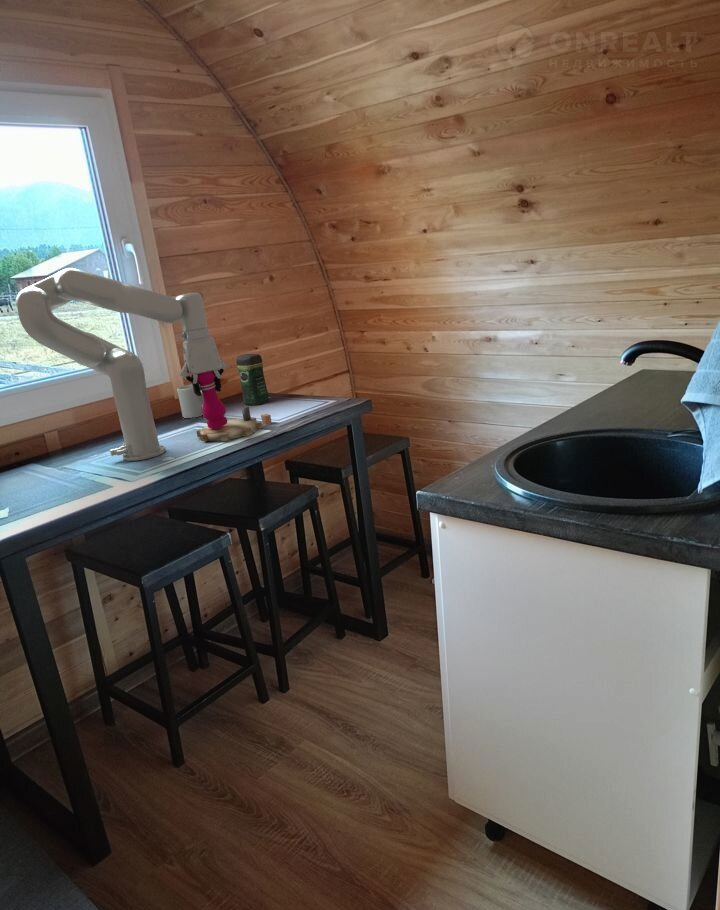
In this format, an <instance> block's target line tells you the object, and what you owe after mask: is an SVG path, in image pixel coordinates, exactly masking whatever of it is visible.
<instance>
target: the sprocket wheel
mask: <svg viewBox="0 0 720 910" xmlns="http://www.w3.org/2000/svg"><path fill="white" fill-rule="evenodd" d="M250 410H251V409H250V407H249V406H244V407H242V408H241V413H242V418H237V417H235V418H230V419H227V424H225V425H224V426H221V427H217V428H208V425H206V426H204V427H203V428H201V429H196V431H195V432H196V437H197V438H200V441H201V442H208V441H210V442H211V441H214V442H215V441H221V442H225V441H227V442H228V441H229V440H232V439H236V438H241V437H244V436H246V437H248V436H250V435H253V433H255V432H256V431H258V430H261V429H263V424H262V420H259V421H258V420H257V418H256V417H252V416H251V412H250Z"/></svg>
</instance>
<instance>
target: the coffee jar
mask: <svg viewBox="0 0 720 910" xmlns="http://www.w3.org/2000/svg"><path fill="white" fill-rule="evenodd" d="M235 361H236V367H237V369H238V370H237V371H238V373H239V377H240V386H241V392H242V400H243V404H244V405H249V406H257V405H264V404H266V403H268V402H269V401H270V395H269V391H268V388H267V387H268V386H267V384H266V380H265V374H264V362H263V358H262V355H260V354H259V353H245V354H244V353H243V354H241V355H238V356H237V357H236V360H235Z"/></svg>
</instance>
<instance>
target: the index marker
mask: <svg viewBox="0 0 720 910" xmlns="http://www.w3.org/2000/svg"><path fill="white" fill-rule="evenodd" d="M260 416H261V417H260V418H261V424H262V425H264V424H265V426H268V424H269V425H272V424H271V423H273V422H272V417H271V414H268V413H264V414H261V415H260Z"/></svg>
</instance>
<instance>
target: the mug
mask: <svg viewBox="0 0 720 910" xmlns="http://www.w3.org/2000/svg"><path fill="white" fill-rule="evenodd" d="M199 385H200V384H199ZM176 391H177V395H178V400H179V404H180V409H181V414H182V415H181V416H182V418H183V417H184V418H192V417H198V416H201V415H203V412H202V408H203V394H202V391H201V396H197V395H196V394H195V393H194V390H193V385H192V383H191V384H187V385H182V386H179V387H177V388H176ZM184 418H183V419H184Z"/></svg>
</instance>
